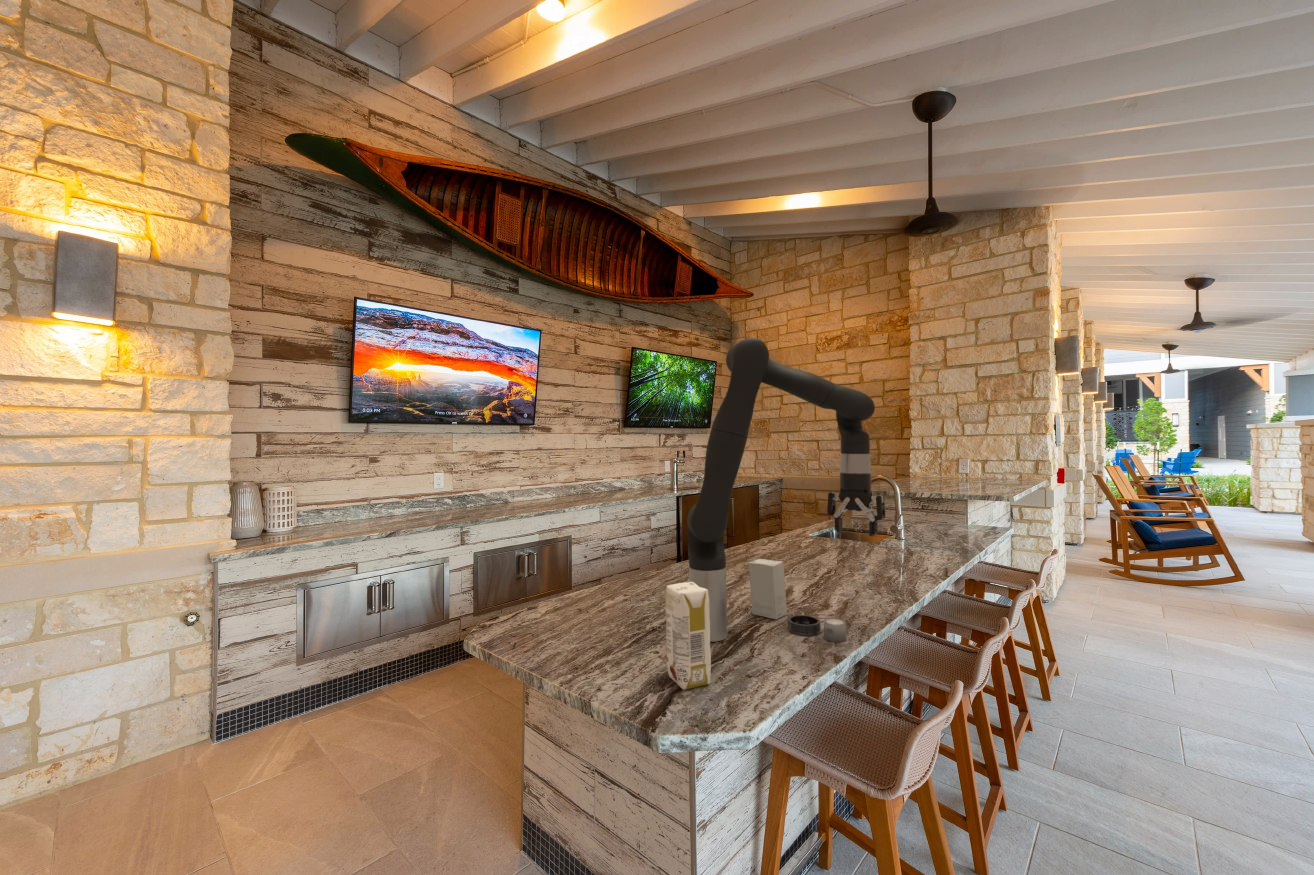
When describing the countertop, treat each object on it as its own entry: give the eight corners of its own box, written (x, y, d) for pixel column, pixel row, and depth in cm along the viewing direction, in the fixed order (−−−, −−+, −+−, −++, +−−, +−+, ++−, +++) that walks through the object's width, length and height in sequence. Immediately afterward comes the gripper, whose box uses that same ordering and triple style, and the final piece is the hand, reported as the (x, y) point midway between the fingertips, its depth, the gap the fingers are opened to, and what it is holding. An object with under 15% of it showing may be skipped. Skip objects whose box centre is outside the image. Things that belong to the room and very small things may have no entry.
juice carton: (681, 693, 101) (679, 594, 102) (663, 675, 109) (661, 584, 109) (715, 685, 104) (713, 589, 105) (695, 668, 112) (693, 579, 112)
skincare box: (787, 615, 145) (786, 561, 145) (775, 620, 141) (773, 565, 141) (762, 609, 151) (760, 557, 151) (749, 614, 147) (748, 560, 147)
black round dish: (796, 637, 129) (795, 626, 129) (783, 626, 136) (783, 616, 136) (825, 634, 130) (825, 624, 130) (812, 624, 138) (811, 614, 138)
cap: (840, 644, 124) (839, 627, 124) (819, 639, 127) (819, 622, 127) (850, 638, 128) (850, 621, 128) (830, 633, 131) (829, 616, 131)
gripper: (822, 470, 138) (823, 532, 138) (878, 473, 128) (878, 539, 128) (834, 469, 143) (835, 529, 143) (888, 471, 134) (889, 535, 133)
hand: (855, 533), depth 136 cm, fingers open, 8 cm apart
